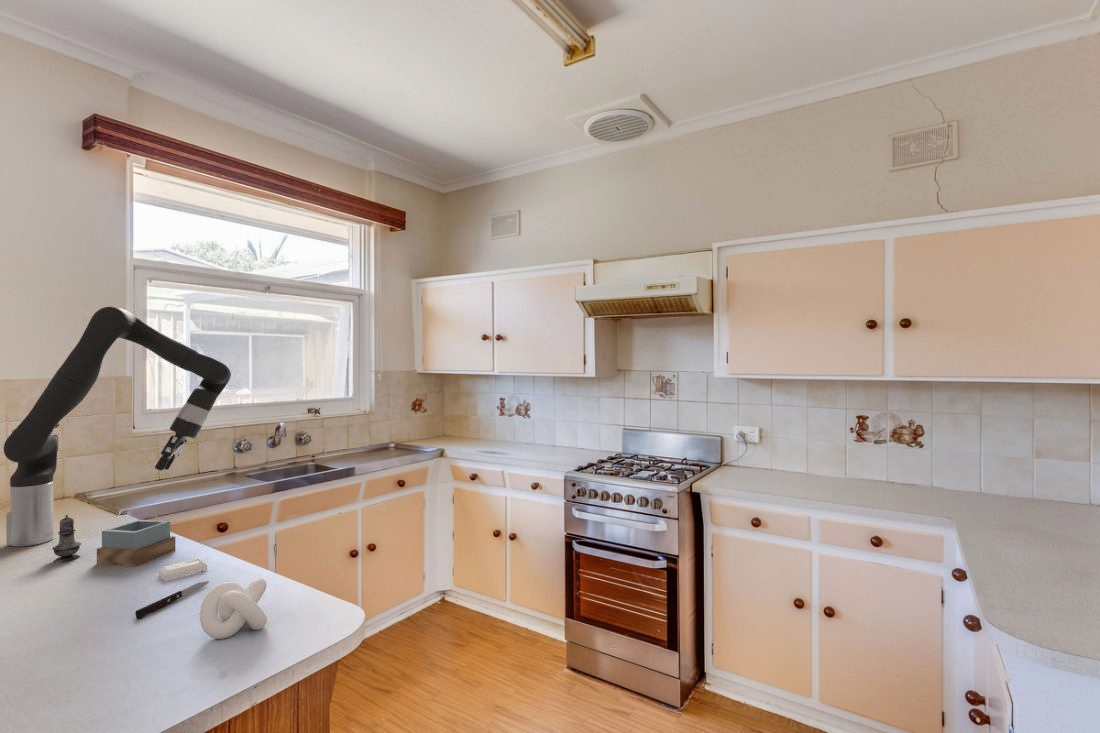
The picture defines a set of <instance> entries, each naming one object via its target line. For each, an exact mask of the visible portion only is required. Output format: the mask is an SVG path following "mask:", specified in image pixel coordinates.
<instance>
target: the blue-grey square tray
mask: <svg viewBox="0 0 1100 733" xmlns="http://www.w3.org/2000/svg"><path fill="white" fill-rule="evenodd" d="M170 536H171V521H169V520H153V519H151V520H150V519H136V520H133V521H130V522H126V523H123V524H120V525H117V526H112V527H111V528H107V529H104V530H101V547H102V548H110V549H126V550H137V549H140V548H143V547H145V546H148V545H151V544H154V543H156V542H159V541H162V540H165V539H167V538H170Z"/></svg>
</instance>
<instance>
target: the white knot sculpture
mask: <svg viewBox="0 0 1100 733" xmlns="http://www.w3.org/2000/svg"><path fill="white" fill-rule="evenodd" d="M266 589H267V580H265V579H264V578H262V577H257V578H254V579H253V580H252V581H250V583H249V584H248V586H247V587H246V589H245V588H244V587H243V586H242V585H240V584H239V583H237V582H234V581H224V582H220V583H218V584H217V585H215V586H213V587H212V588H211V589H210V590H209V591H208V592H207V593H206V595H205V597H204V598H203V600H202V602H201V605H200V609H199V622H200V626H201V628H202V631H203V632H204V633H205V634H206V635H207V636H209V637H210V638H212V639H215V640H224V639H227V638H231V637H233V635H235V634H237V633H238V632H239V631H240V629H241V628H242V627H243V626H244V625H245V623H246V624H248V626H249V627H250V628H251V629H253V630H254V631H255V630H256V631H257V630H258V631H259V630H261V629H263V628H264V627H265V626H266V624H267V622H268V617H267V615H266V613H265V612H264V610H263V609H262V608H261V607H260V606H259V605H258V603H259V601H260V600H261V598H262V596H263V595H264V593H265V591H266Z"/></svg>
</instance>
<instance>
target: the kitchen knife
mask: <svg viewBox="0 0 1100 733" xmlns="http://www.w3.org/2000/svg"><path fill="white" fill-rule="evenodd" d="M209 583H210V581H200V582H197V583H195V584H192V585H190V586H188V587H186V588H184V589H182V590H178V591H176V592H174V593H172V594H170V595H168V596H166V597H163V598H160V599H159V600H157V601H155V602H153V603H151V604H148V605H146V606H144V607H141V608H139V609H136V611H135V613H134V614H135V618H136V619H137V620H141V619H143V618H144V617H145V616H147V615H149V614H151V613H155V612H157V611H160V610H162V609H164V608H166V607H167V606H169V605H171V604H173V603H174V602H176V601H178V600H180V598H181V599H182V597H183V598H184V596H185V597H186V595H187V596H189V595H191V594H193V593H195V592H196V590H197V591H198V589H199V590H200V588H201V589H202V588H203V587H205V586H206V585H207V584H209ZM194 591H195V592H194ZM192 592H193V593H192ZM190 593H191V594H190ZM188 594H189V595H188Z"/></svg>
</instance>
